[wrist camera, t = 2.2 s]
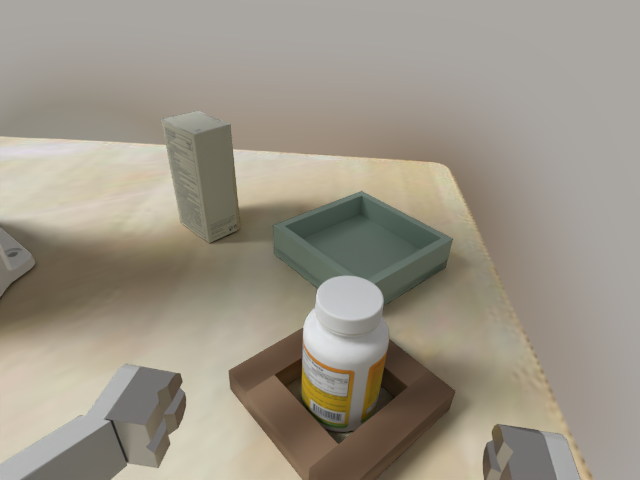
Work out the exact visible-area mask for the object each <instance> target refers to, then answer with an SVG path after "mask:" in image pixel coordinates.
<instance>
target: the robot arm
mask: <svg viewBox="0 0 640 480" xmlns="http://www.w3.org/2000/svg"><path fill="white" fill-rule="evenodd" d="M34 265H35V260H34V258H33V256H32V255H31V253H30V252H29V251H28V250H26V249H25V248H24V247H23V246H22V245H21V244H19V243H18V242H17V241H16V240H15V239H13V238H12V237H11V236H10V235H9V234H8V233H6V232H5V231H4V230H3V229H2V228H0V297H1V295H2V294H3V293H4V291H5V290H6V289H7V287H8V286H9V285H10V284H11V283H12V282H13V281H14V280H16V279H17V278H19V277H20V276H22V275H23V274H25V273H26V272H27V271H29V270H30V269H31V268H32V267H33V266H34ZM182 382H183V381H182V378H181V374H180V373H174V372H169V371H163V370H158V369H152V368H146V367H142V366H136V365H129V364H124V365H123V366H122V367H121V368H119V369H118V371H117V372H116V374H115V375H114V376H113V378H112V379H111V381H110V382H109V383H108V385H107V386H106V388H105V389H104V391H103V392H102V393H101V395H100V396H99V398H98V399H97V400H96V402H95V403H94V405H93V406H92V407H91V409H90V410H89V412H88V413H87V414H86V416H82V415H80V416H78V417H77V418H75V419H73V420H72V421H70V422H68V423H67V424H65V425H63V426H62V427H60V428H59V429H57V430H55V431H54V432H52V433H50V434H49V435H47V436H45V437H44V438H42V439H41V440H39V441H37V442H36V443H34V444H32V445H31V446H29V447H27V448H26V449H24V450H23V451H21V452H19V453H18V454H16V455H14V456H13V457H11V458H9V459H8V460H6V461H5V462H3V463H1V464H0V480H111V479H112V478H113V477H114V476H115V475H116V474H118V473H119V472H120V471H121V470H122V469H123V468H125V467H126V466H127V463H129V464H135V465H141V466H148V467H154V468H159V466H160V464H161V462H162V460H163V458H164V456H165V454H166V452H167V450H168V448H169V446H170V440H169V434H171V433H172V432H173V431H175V430H176V429H178V427H179V425H180V423H181V421H182V418H183V415H184V411H185V408H186V396H185V392H184V391H183V390H182V389H181V388H180V386H181V384H182ZM492 438H493V440H492V441H490V442H488V443H487V444H486V447H485V450H484V455H483V474H484V480H581V479H580V476H579V473H578V470H577V468H576V465H575V462H574V459H573V456H572V453H571V451H570V448H569V445H568V442H567V439H566V438H565V437H564V436H563V435H562V434H558V433H550V432H543V431H539V430H535V429H528V428H521V427H514V426H507V425H501V424H497V425H495V426H494V428H493V430H492Z"/></svg>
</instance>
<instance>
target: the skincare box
mask: <svg viewBox="0 0 640 480" xmlns="http://www.w3.org/2000/svg"><path fill="white" fill-rule="evenodd" d="M161 121H162V126H163V131H164V136H165V142H166V147H167V152H168V158H169V163H170V168H171V174H172V179H173V184H174V190H175V195H176V200H177V206H178V211H179V216H180V222H181V223H182V224H183V225H185V226H186V227H187V228H189V229H190V230H191V231H193V232H194V233H196V234H197V235H198V236H200V237H201V238H203V239H204V240H206V241H207V242H209V243H211V242H213V241H215V240H217V239H220V238H222V237H224V236H226V235H228V234H231V233H233V232H235V231H237V230H239V229H240V217H239V207H238V198H237V187H236V177H235V167H234V157H233V147H232V137H231V125H230V124H229V123H226V122H224V121H222V120H219V119H217V118H214V117H212V116H209V115H207V114H204V113H202V112H199V111H194V112H190V113H185V114H181V115H176V116H172V117H167V118H162V119H161Z"/></svg>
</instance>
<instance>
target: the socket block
mask: <svg viewBox="0 0 640 480" xmlns="http://www.w3.org/2000/svg"><path fill="white" fill-rule="evenodd" d="M302 357H303V328H302V329H300V330H298V331H296V332H295V333H293V334H291V335H289V336H288V337H286V338H284V339H283V340H281V341H279V342H277V343H276V344H274V345H272V346H270V347H269V348H267V349H265V350H264V351H262V352H260V353H258V354H257V355H255V356H253V357H251V358H250V359H248V360H246V361H244V362H243V363H241V364H239V365H238V366H236V367H234V368H232V369H231V370H229V379H230V388H231V390H232V392H233V393H234V394H235V395H236V397H237V398H238V399H239V400H240V402H241V403H242V404H243V405H244V407H245V408H246V409H247V410H248V412H249V413H250V414H251V415H252V417H253V418H254V419H255V420H256V422H257V423H258V424H259V425H260V427H261V428H262V429H263V430H264V432H265V433H266V434H267V435H268V437H269V438H270V439H271V440H272V442H273V443H274V444H275V445H276V447H277V448H278V449H279V450H280V452H281V453H282V454H283V455H284V457H285V458H286V459H287V461H288V462H289V463H290V464H291V466H292V467H293V468H294V469H295V471H296V472H297V473H298V474H299V476H300V477H301V478H302V479H303V480H375V479H376V478H377V477H378V476H379V475H380V474H381V473H382V472H383V471H384V470H385V469H387V468H388V467H389V466H390V465H391V464H392V463H393V462H394V461H395V460H396V459H397V458H398V457H399V456H400V455H401V454H402V453H403V452H404V451H405V450H407V449H408V448H409V447H410V446H411V445H412V444H413V443H414V442H415V441H416V440H417V439H418V438H419V437H420V436H421V435H422V434H423V433H424V432H426V431H427V430H428V429H429V428H430V427H431V426H432V425H433V424H434V423H435V422H436V421H437V420H438V419H439V418H440V417H441V416H442V415H443V414H444V413H446V412H447V411H448V410H449V408H450V405H451V402H452V399H453V397H454V394H455V390H454V389H452V388H451V387H450V386H448V385H447V384H446V383H445V382H443V381H442V380H441V379H439V378H438V377H437V376H436V375H434V374H433V373H432V372H430V371H429V370H428V369H427V368H425V367H424V366H423V365H421V364H420V363H419V362H418V361H416V360H415V359H414V358H412V357H411V356H410V355H409V354H407V353H406V352H405V351H403V350H402V349H401V348H400V347H398V346H397V345H396V344H395V343H393V342H392V341H391V340H389V343H388V350H387V354H386V360H385V365H384V370H383V375H382V381H381V385H382V386H383V387H384V388H385V389H386V390H387V391H389V392H390V393H391V394H392V395H393V396H394V397H395V398H394V399H393V400H392V401H390V402H389V403H388V404H387V405H386V406H384V407H383V408H382V409H381V410H379V411H378V412H377V413H376V414H375V415H373V416H372V417H371V418H370V419H369V420H367V421H366V422H365V423H364V424H362V425H361V426H360V427H359V428H358V429H356V430H355V431H354V432H353V433H352V434H350V435H349V436H348V437H347V438H345V439H344V440H343V441H342V442H341V443H339V444H338V443H337V442H336V441H335V440H334V439H333V438H332V437H331V436H330V435H329V434H328V433H327V431H326V430H325V429H324V428H323V427H322V426H321V425H320V424H319V423H318V422H317V421H316V420H315V418H314V417H313V416H312V415H311V414H310V413H309V412H308V411H307V410H306V409H305V408H304V407H303V405H302V404H301V403H300V402H299V401H298V400H297V399H296V398H295V397H294V396H293V395H292V394H291V392H290V391H289V390H288V389H287V388H286V387H285V386H286V385H288V384H289V383H291V382H292V381H294V380H295V379H297V378H299V377H300V376H302Z"/></svg>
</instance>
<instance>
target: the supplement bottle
mask: <svg viewBox="0 0 640 480" xmlns="http://www.w3.org/2000/svg"><path fill="white" fill-rule="evenodd" d="M383 304H384V299H383V295H382V293H381V291H380V289H379V288H378V287H377V286H376V285H375V284H373V283H372V282H370V281H368V280H366V279H363V278H361V277H356V276H338V277H334V278H331V279H329V280H327V281H325V282H324V283H323V284H322V285H321V286H320V287H319V288H318V290H317V294H316V303H315V308H314V309H313V310H312V311H311V312H310V313H309V315H308V316H307V318H306V320H305V323H304V327H303V357H302V390H301V391H302V403H303V407H304V408H305V409H306V410H307V411H308V412H309V413H310V414H311V415H312V416H313V417H314V418H315V420H316V421H317V422H318V423H319V424H320V425H321V426H322V427H323V428H325V429H328V430H331V431H335V432H348V431H352V430H355V429H358V428H359V427H360V426H361V425H362V424H364V423H365V422H366V421H367V420H369V419H370V418H371V417H372V416H373V414H374V412H375V410H376V407H377V403H378V397H379V392H380V386H381V381H382V375H383V370H384V365H385V360H386V354H387V350H388V343H389V330H388V326H387V324H386V322H385V320H384V318H383V317H382V313H383Z"/></svg>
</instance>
